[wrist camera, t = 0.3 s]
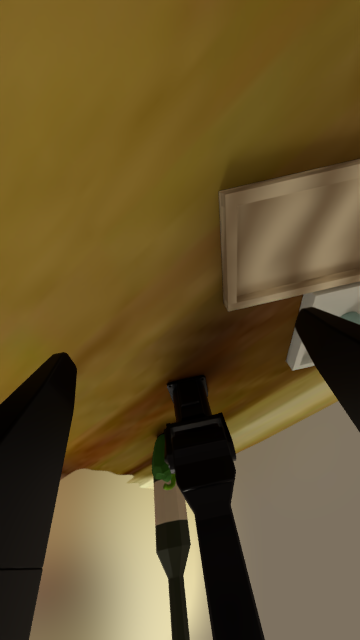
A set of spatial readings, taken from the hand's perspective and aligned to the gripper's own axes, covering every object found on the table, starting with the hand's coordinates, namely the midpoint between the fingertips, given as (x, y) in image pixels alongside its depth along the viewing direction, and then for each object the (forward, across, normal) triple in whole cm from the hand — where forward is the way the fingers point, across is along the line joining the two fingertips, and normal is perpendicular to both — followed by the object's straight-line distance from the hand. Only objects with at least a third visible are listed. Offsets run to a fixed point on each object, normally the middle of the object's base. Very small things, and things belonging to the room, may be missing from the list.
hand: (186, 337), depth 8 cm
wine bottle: (+15, +10, +65) cm, 67 cm away
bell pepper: (+15, +6, +45) cm, 48 cm away
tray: (+14, -15, +3) cm, 21 cm away
